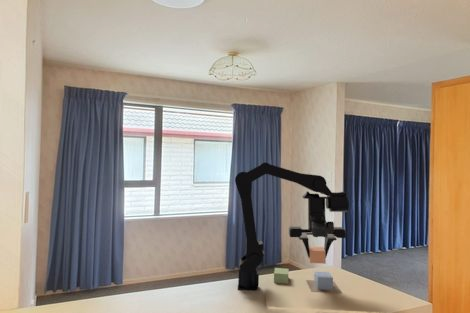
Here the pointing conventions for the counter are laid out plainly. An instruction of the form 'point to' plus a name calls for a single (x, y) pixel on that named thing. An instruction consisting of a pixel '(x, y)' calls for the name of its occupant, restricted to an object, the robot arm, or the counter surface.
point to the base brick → (323, 280)
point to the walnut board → (314, 289)
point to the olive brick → (281, 275)
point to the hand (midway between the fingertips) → (317, 257)
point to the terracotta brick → (317, 255)
